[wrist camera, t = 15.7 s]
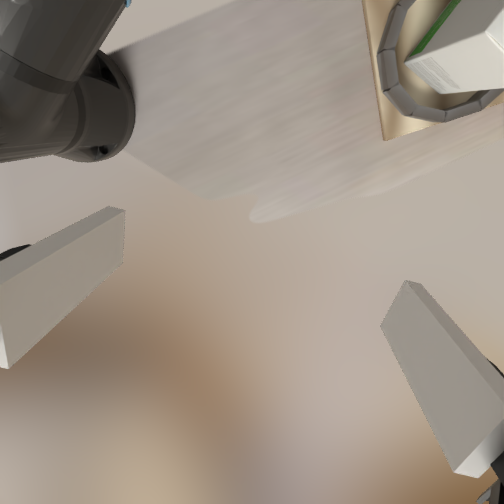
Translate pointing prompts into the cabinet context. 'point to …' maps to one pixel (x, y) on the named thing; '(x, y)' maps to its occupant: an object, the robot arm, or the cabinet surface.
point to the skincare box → (462, 48)
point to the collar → (405, 80)
